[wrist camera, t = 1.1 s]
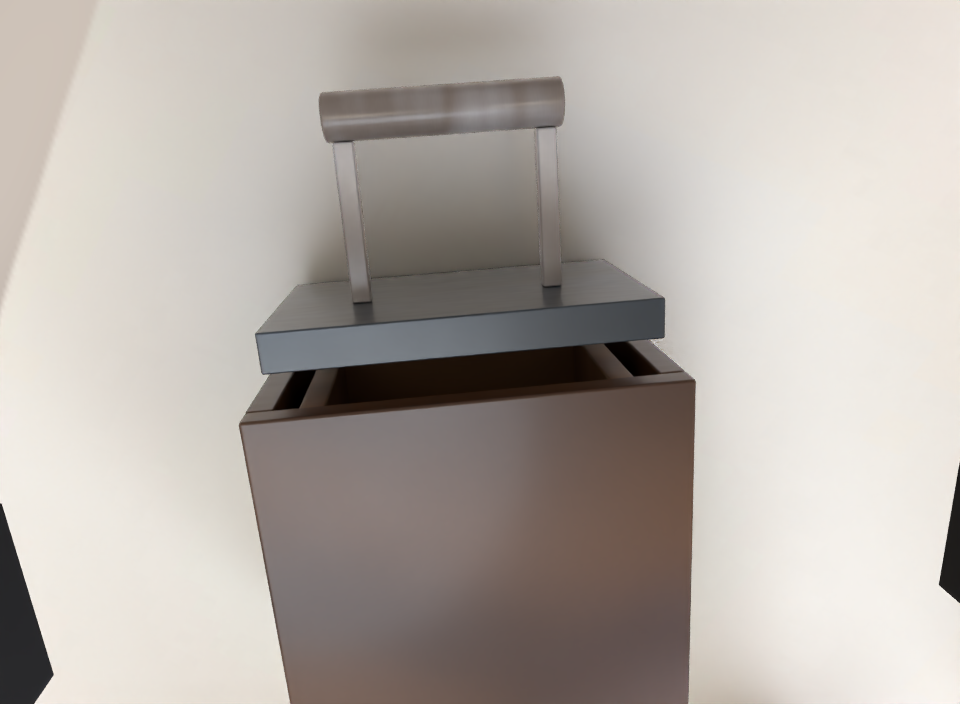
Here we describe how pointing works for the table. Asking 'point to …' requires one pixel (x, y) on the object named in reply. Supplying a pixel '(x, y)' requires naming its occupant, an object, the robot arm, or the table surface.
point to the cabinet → (481, 539)
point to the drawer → (454, 275)
